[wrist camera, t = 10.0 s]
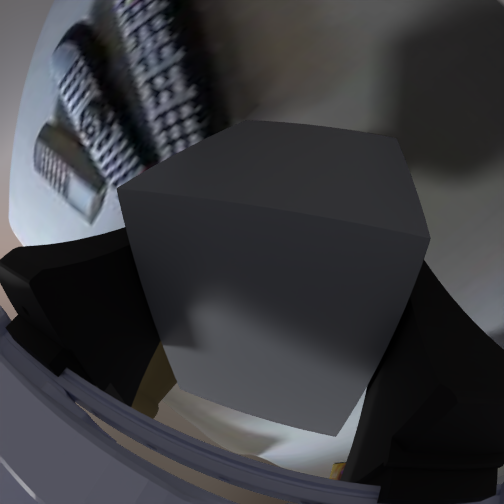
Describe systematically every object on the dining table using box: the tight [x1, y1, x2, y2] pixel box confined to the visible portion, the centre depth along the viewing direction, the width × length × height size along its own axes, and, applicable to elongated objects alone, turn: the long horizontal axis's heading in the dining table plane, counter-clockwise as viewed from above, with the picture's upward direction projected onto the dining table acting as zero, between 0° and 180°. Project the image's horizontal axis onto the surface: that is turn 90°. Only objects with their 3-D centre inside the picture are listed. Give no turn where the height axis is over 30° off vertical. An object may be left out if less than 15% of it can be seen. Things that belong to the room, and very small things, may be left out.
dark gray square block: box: [117, 120, 431, 437], centre depth 10 cm, size 6×8×7 cm
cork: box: [131, 341, 177, 419], centre depth 36 cm, size 6×6×11 cm
